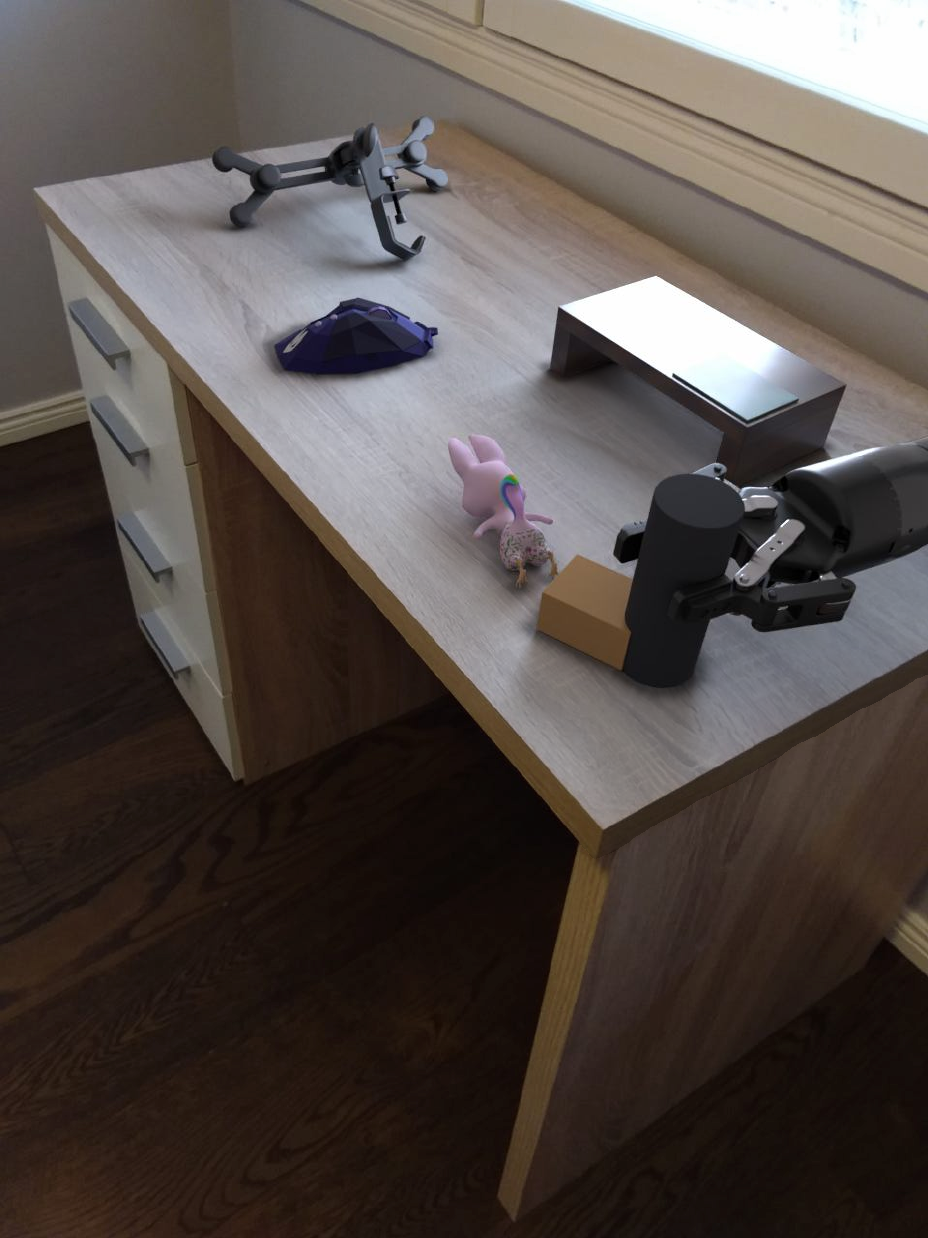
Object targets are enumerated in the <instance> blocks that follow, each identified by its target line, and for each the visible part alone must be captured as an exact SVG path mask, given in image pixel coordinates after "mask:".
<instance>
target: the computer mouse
mask: <svg viewBox="0 0 928 1238" xmlns="http://www.w3.org/2000/svg"><path fill="white" fill-rule="evenodd" d="M438 334H439V330H438V327H435V326H430V327H429V326H427V325H425V324H424V323H422V322H419V321H412V320H411V317H410V316H408V315H406V314H404V313H403V312H402V311H401V312H400V311H399V310H397V309H395V308H394V307H391V306H389V305H385V304H382V303H378V302H376V301H372V300H368V299H365V298H362V297H355V298H350V299H346V300H341V301H339V305H337V306H336V307H335V308H333V309H332V310H331V311H330V312H328V313H327V314H326V315H324V316H322V317H320V318H317V319H315V320H313V321H311V322H310V323H308V324H307V325H306V326H304V327H303V328H299V329H298V330H296V331H294V332H293V333H290V335H288V336H287V337H285V338H283V339H281V340H280V341H278V342H276V343H275V344H274V348H275V353H276V356H277V359H278V361H279V363H280V365H281V367H282V369H283V371H290V372H297V373H305V374H311V375H355V374H356V375H358V374H362V373H363V374H364V373H368V372H372V371H377V370H381V369H386V368H391V367H394V366H397V365H400V364H401V365H402V364H404V363H407V362H410V361H414V360H416V359H419V358H423V357H425V356H426V355H427V354H428V353H429V352H430V351H432V350H433V349H434V348H435V347H434V339H433V337H435V336H437V335H438Z"/></svg>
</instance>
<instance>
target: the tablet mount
mask: <svg viewBox="0 0 928 1238" xmlns="http://www.w3.org/2000/svg"><path fill="white" fill-rule="evenodd" d="M434 132H435V123H434V121H433V120H432V118H430V117H429V116H427V115H424V116H420V117H419V118H417V119H415V120H414V121H413V122H412V124H411V132H410V133H409V135H408V136H407V137H406V138H405V139H404V140H403V141H402V142H401V143H400V144H399V145H393V146H386V147H382V144H381V140H380V138H379V135H378V129H377V126H376V124H375V123H374V122H371V123H369V124H367V126H363V127H359V128H358V129H357V130H355V132H354V133H353V137H352V140H346V141H343V142H341V143H340V144H338V145H337V146H336V147H335V148H334V149H333V150H331V152H330V154H329V155H328V156H325V157H320V158H319V157H318V158H314V159H307V160H301V161H295V162H289V163H288V162H287V163H283V164H273V163H265V164H260V163H258V162H256V161H253V160H251V159H249V158H247V157H244V156H243V155H240V154H238V153H236V152H234V150H233V149H232V148H231V147H229V146H226V145H225V146H224V145H223V146H221V147H219V148H218V149H216V150H215V151H214V152H213V153H212V156H211V162H212V165H213V167H214V168H215V169H216V170H217V171H219V172H221V173H226V174H227V173H229V172H231V171H232V170H233V169H235V170H237V171H239V172H241V173H242V174H243V173H244V174H245V175H247V176H249V184H250V186H251V188H252V190H253V191H252V193H251V194H250V195H249V196H248V198H247V199H246V200H245V201H244V202H240V203H237V204H235V205H232V206H231V208H230V210H229V213H228V215H229V220H230V222H231V223H232V224H233V225H234V226H235V227H237V228H241V229H242V228H246V227H248V226H249V225H250V224H251V222H252V221H253V219H254V214H255V213H256V212H257V211H258V210H259V209H260V207H261V206H262V205H263V204H264V203H265V202H266V201H267V200H268V198H270V196H271V195H272V194H273V193H274V192H275V191H281V190H287V189H292V188H298V187H302V186H303V187H304V186H310V185H315V184H319V183H327V182H332V184H335V185H337V186H345V185H347V186H349V187H350V188H361V187H365V192H366V195H367V199H368V200H369V203H370V210H371V213H372V216H373V221H374V224H375V227H376V230H377V234H378V237H379V240H380V244H381V247H382V248H383V249H384V250H385V251H386V252H388V253H389V254H391V255H393V256H395V257H396V258H398V259H400V260H402V261H408V260H410V259H412V258H413V257H416V256H417V255H419V254H420V253H421V252H422V250H423V247H424V246H425V243H426V240H427V237H426V236H424V235H421V234H420V235H419V236H418V237H417V238H416V239H415V240H414V241H413V243H412V244H411V246H408V245H407V244H404V243H403V242H400V241H398V240H397V238H396V236H395V231H394V229H393V226H392V221H391V217H390V215H388V214H387V212H386V207H385V204H387V203H393V205H394V209H395V212H396V214H395V215H394V220H395V224H396V225H399V226H400V225H402V224H403V225H404V224H406V223H407V222H408V219H407V215H406V212H403V211H402V208H401V205H400V201H401V199H403V198H404V197H406V196H408V195H409V194H410V193H411V192H412V191H411V189H410V188H403V189H398V190H396V187H395V184H396V183H397V180H399V179H400V176H399V174H398V172H397V170H401V169H404V170H406V171H408V172H410V173H412V174H414V175H416V176H419V177H421V178H423V179H425V183H426V186H427V187H428V189H430V190H431V191H434V192H440V191H441V190H442V189H443V188H444V187H445V186H446V185H447V184H448V182H449V176H448V173H447V171H445V169H444V168H442V167H436V168H435V167H432V166H430V165H428V164H426V163H425V162H426V161H427V157H428V151H427V146H426V145H425V143H424V142H423V141H426V140H428V139H429V138H430V136H431V135H433V133H434ZM396 155H397V158H394V159H388V160H386V159H385V158H386V157H389V156H396ZM317 168H323V169H324V171H319V172H312V173H306V174H299V175H295V176H289V177H283V178H282V174H287V173H293V172H300V171H306V170H311V169H312V170H313V169H317Z"/></svg>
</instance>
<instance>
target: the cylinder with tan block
mask: <svg viewBox="0 0 928 1238" xmlns="http://www.w3.org/2000/svg"><path fill="white" fill-rule="evenodd" d="M744 513H745V505H744V501H743V499H742V497H741V496H740V495H739V493H738V492H737V491H736V490H735V489H733V488H732V487H731V486H729V485H728V484H726V483H724V482H722V481H720V480H718V479H715V478H713V477H709V476H705V475H700V474H692V473H678V474H673V475H669V476H667V477H665V478H663V479H662V480H660V481H659V482H658V483H657V485H656V486H655V487H654V490H653V494H652V498H651V501H650V507H649V510H648V514H647V518H646V519H647V522H646V527H645V531H644V535H643V539H642V543H641V548H640V552H639V556H638V559H637V560H636V565H635V569H634V573H633V578H631V577H630V576H627V575H626V574H625V575H624V574H622V573H620V572H618V571H616V570H613V569H611V568H609V567H607V566H605V565H603V564H600V563H598V562H596V561H595V560H591V559H589V558H587V557H585V556H583V555H581V554H576V555H575V556H574V557H573V558H572V559H571V560H570V561H569V563H568V564H567V565H566V566H565V567H564V568H563V569H562V570H561V571H560V572H558V576H557V575H556V576H555V578H553V580H552V581H551V582H550V583H549V584H548V585H547V586H546V587H545V589H543V590H542V592H541V596H540V597H541V598H540V604H539V611H538V616H537V621H536V630H537V631H539V632H541V633H543V634H545V635H547V636H549V637H552V638H553V639H555V640H558V641H560V642H562V643H563V644H566V645H568V646H570V647H572V648H573V649H576V650H578V651H580V652H582V653H584V654H586V655H588V656H590V657H592V658H594V659H596V660H598V661H601V662H602V663H604V664H606V665H608V666H611V667H613V668H615V669H617V670H618V671H623V672H624V673H625V674H626V675H628V676H629V677H630V678H631V679H633V680H635V681H637V682H638V683H641V684H642V685H647V686H649V687H655V688H671V687H675V686H678V685H681V684H683V683H685V682H686V681H687V680H689V679H690V678H691V676H693V674H694V673H695V669H696V665H697V662H698V660H699V656H700V654H701V650H702V648H703V647H702V646H703V645H704V641H705V638H706V634H707V630H708V628H709V625H710V622H711V619H710V620H707V621H704V622H701V623H698V624H687V623H686V622H684V623H681V624H678V625H677V624H675V623H674V622H673V621H672V620H671V619H670V618H669V617H668V615H667V613H668V610H669V606H670V602H671V599H672V596H673V594H674V593H675V592H676V591H678V590H679V589H682V588H685V587H688V586H691V585H694V584H698V583H701V582H704V581H707V580H711V579H713V578H716V577H719V576H722V575H726V572H727V569H728V565H729V562H730V559H731V553H732V550H733V547H734V544H735V541H736V538H737V535H738V532H739V529H740V525H741V522H742V519H743V516H744Z"/></svg>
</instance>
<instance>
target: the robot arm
mask: <svg viewBox="0 0 928 1238" xmlns="http://www.w3.org/2000/svg"><path fill="white" fill-rule="evenodd" d="M726 472H727V468H726V467H725V466H724V465H722V464H719V463H715V462H713V463H710V464H707V465H706V466H705V467H702V468H700V469H698V470H696V471H694V472H692V473H691V474H700V475H705V476H709V477H713V478H715V479H718V480H720V481H722V482H724V483H726V484H728V485H729V486H731V487H732V488H733V489H735V490H736V491H737V492H738V493H739V495H740V496H741V497H742V499H743V501H744V505H745V513H744V516H743V519H742V522H741V525H740V529H739V532H738V535H737V538H736V541H735V544H734V547H733V550H732V553H731V557H730V559H732V560H733V561H735V562H736V564H737V566H738V567H739V570H738V571H737V572H736V573H735V574H734V576H733V578H732V579H731V578H730V577H729V576H728V575H727V574H725V575H722V576H719V577H716V578H713V579H711V580H707V581H704V582H701V583H698V584H694V585H691V586H688V587H685V588H682V589H679V590H678V591H676V592H675V593H674V594H673V596H672V599H671V602H670V606H669V610H668V613H667V615H668V617H669V618H670V619H671V620H672V621H673V622H674V623H675V624H677V625H678V624H681V623H684V622H686V623H687V624H698V623H701V622H704V621H707V620H710V621H711V620H713V619H716V618H719V617H722V616H724V615H727V614H729V615H730V616H733V617H740V616H744V617H746V618H748V619H750V620H751V622H750V625H751V627H752V629H753V630H755V631H756V632H759V633H771V632H779V631H785V630H791V629H798V628H803V627H810V626H816V625H825V624H830V623H838V622H841V621H842V620H843V619H844V616H845V615H846V612H847V611H848V609H849V607H850V605H851V602H852V600H853V598H854V594H855V592H856V590H857V584H856V583H855V582H854V581H853V580H851V579H849V578H846V577H848V576H851V575H854V574H856V573H860V572H863V571H866V570H870V569H872V568H876V567H878V566H881V565H884V564H886V563H887V564H888V563H889V562H892V561H895V560H896V561H897V560H898V559H902V558H903V557H906V556H909V555H911V554H912V553H915V552H917V551H918V550H921V549H922V548H924V547H926V546H928V435H925V436H922V437H919V438H914V439H911V440H909V441H905V442H901V443H897V444H893V445H892V444H891V445H883V446H876V447H869V448H866V449H862V450H859V451H855V452H852V453H849V454H845V455H841V456H837V457H834V458H831V459H827V460H824V461H821V462H817V463H813V464H809V465H807V466H802V467H798V468H795V469H793V470H790V471H789V472H787V473H786V474H784V475H782V476H781V477H780V478H778V479H777V480H776V481H774V482H773V483H772V484H770V485H768V486H765V487H757V486H756V487H755V486H745V487H742V488H740V487H736V486H735V485H733V484H732V483H730V482H729V481H727V480H726V479H725V475H726ZM646 522H647V518H645V519H642V520H639V521H634V522H631V523H628V524H625V525H623V527H621V528H620V530H619V532H618V534H617V535H616V539H615V542H614V547H613V553H612V555H613V556H614V558H615V559H616V560H617V561H618V562H619V563H620V564H627V563H630V562H634V561H637V560H638V556H639V552H640V548H641V543H642V539H643V535H644V531H645V527H646ZM781 584H787V585H781ZM780 585H781V586H780ZM780 608H782V609H780Z"/></svg>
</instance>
